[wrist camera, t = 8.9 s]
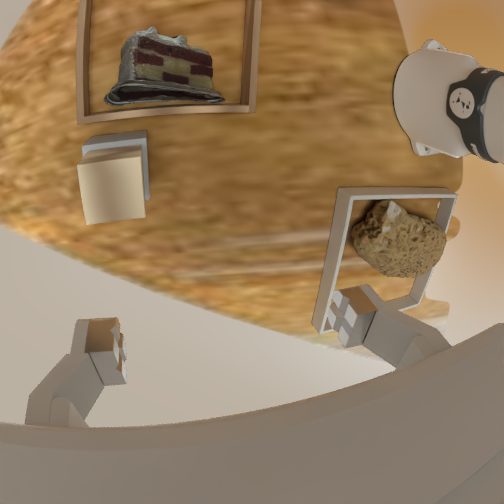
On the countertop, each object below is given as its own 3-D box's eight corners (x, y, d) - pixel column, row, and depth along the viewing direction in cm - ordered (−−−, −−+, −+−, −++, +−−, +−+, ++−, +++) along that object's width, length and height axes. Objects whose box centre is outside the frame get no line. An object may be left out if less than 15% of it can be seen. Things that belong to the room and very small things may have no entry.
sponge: (333, 241, 47) (404, 293, 54) (361, 255, 40) (431, 310, 46) (375, 170, 46) (438, 234, 53) (407, 173, 38) (467, 244, 45)
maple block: (141, 144, 26) (140, 156, 22) (145, 195, 28) (145, 217, 24) (88, 150, 24) (77, 165, 20) (94, 202, 27) (86, 224, 23)
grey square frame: (445, 187, 47) (457, 194, 45) (410, 296, 60) (418, 305, 57) (338, 187, 40) (350, 195, 38) (311, 322, 53) (319, 334, 50)
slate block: (146, 130, 30) (146, 137, 26) (149, 183, 33) (150, 200, 29) (91, 136, 28) (81, 146, 24) (96, 190, 31) (89, 207, 27)
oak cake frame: (254, -33, 23) (264, -41, 20) (246, 109, 32) (255, 112, 29) (89, -30, 18) (85, -39, 15) (83, 121, 27) (77, 124, 24)
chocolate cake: (232, 42, 28) (159, -2, 17) (232, 102, 30) (151, 75, 19) (163, 60, 32) (85, 36, 21) (160, 113, 33) (77, 102, 23)
